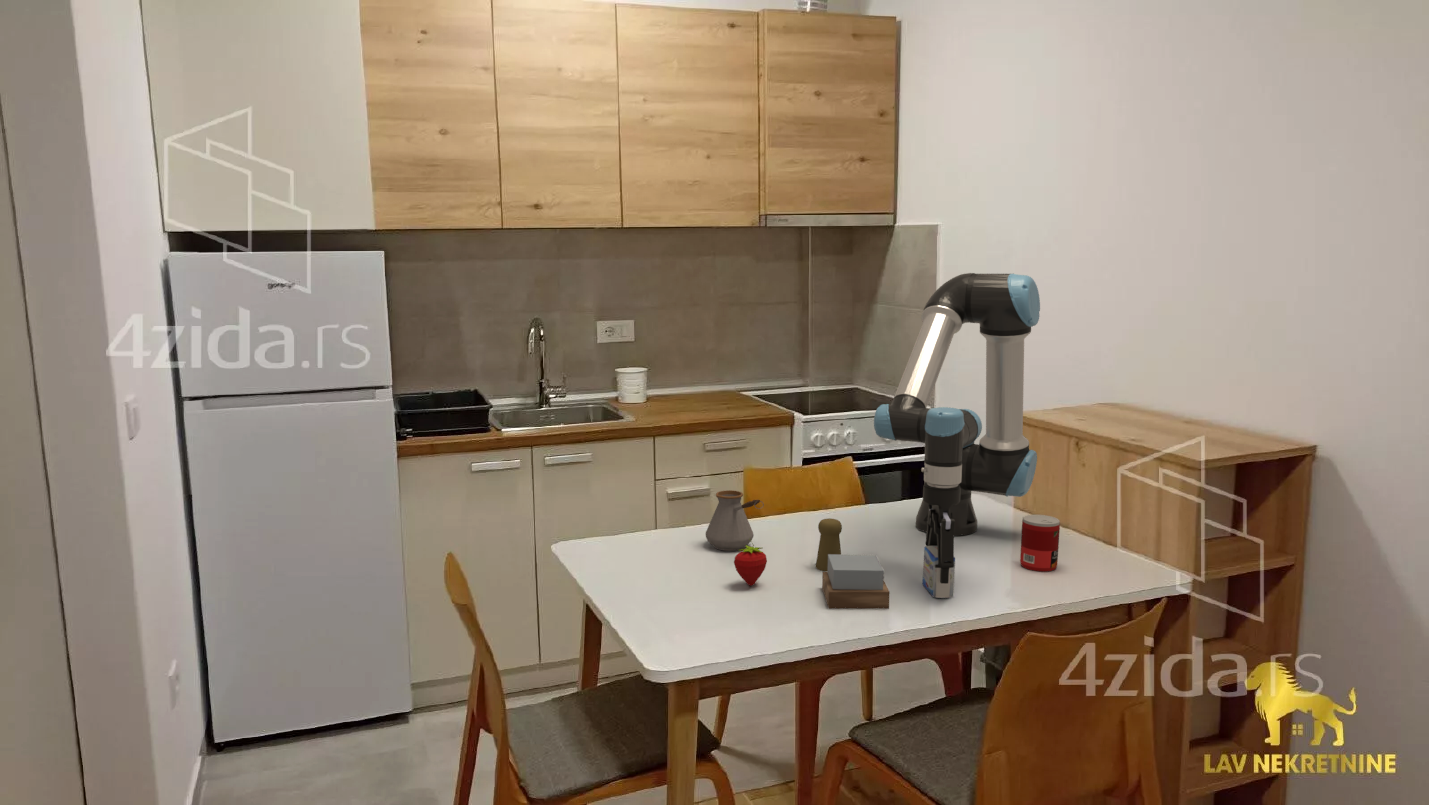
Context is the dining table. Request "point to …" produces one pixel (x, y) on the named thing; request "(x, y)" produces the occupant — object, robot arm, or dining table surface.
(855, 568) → the slate slab
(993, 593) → the dining table surface
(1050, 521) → the canned food
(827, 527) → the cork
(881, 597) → the walnut slab
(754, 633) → the dining table surface
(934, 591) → the medicine box
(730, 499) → the coffee pot
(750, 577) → the strawberry
